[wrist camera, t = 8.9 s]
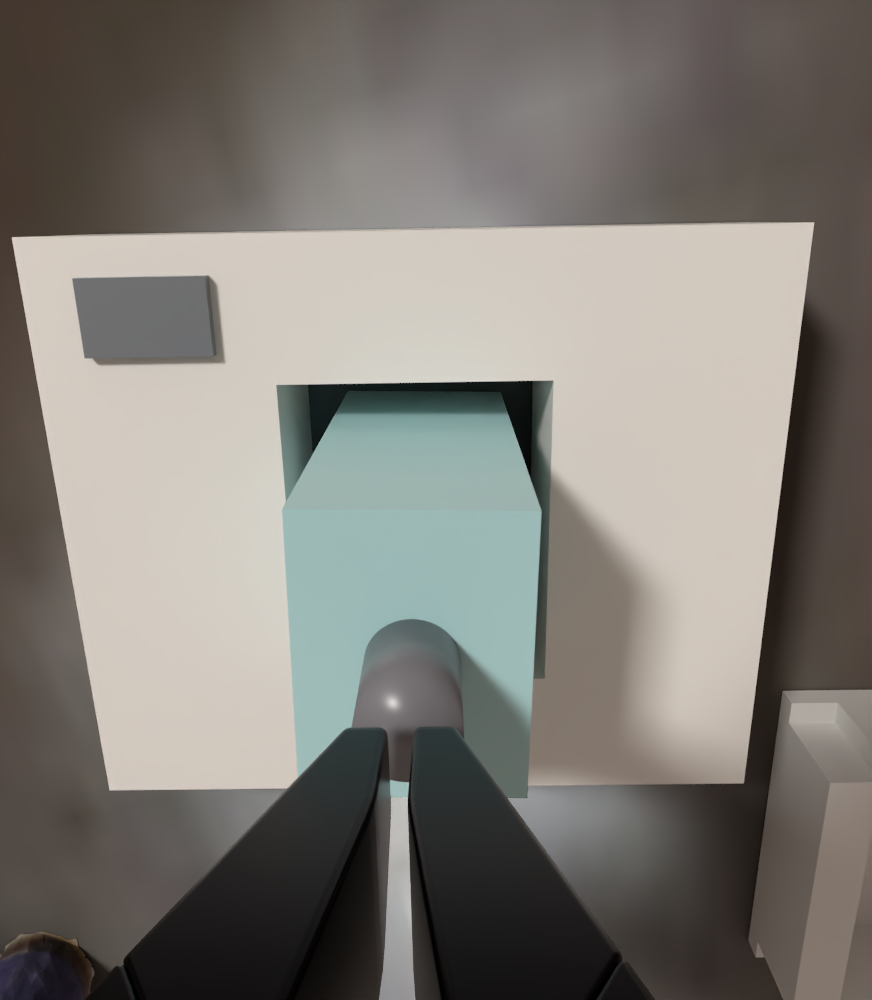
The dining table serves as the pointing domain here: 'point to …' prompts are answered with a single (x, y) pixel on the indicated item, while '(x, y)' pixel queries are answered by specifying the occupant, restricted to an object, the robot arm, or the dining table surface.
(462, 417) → the plug
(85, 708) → the dining table surface
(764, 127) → the dining table surface
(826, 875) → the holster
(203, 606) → the socket block
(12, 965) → the flask
